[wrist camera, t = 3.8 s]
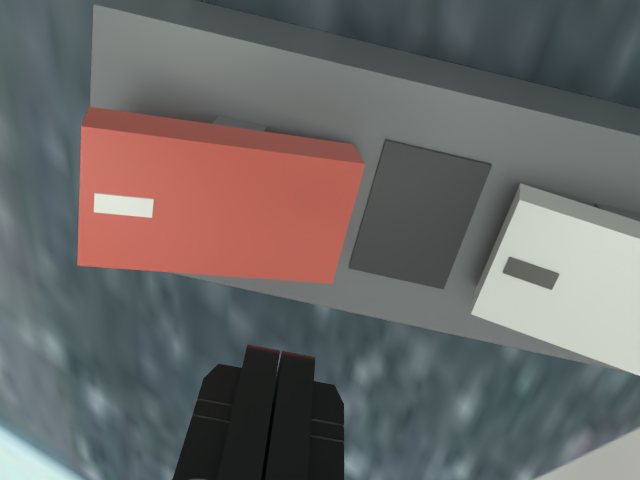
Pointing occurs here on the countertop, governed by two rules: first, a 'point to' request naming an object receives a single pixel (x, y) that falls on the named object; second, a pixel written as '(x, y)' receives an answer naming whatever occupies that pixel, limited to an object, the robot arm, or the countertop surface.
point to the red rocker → (212, 198)
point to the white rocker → (566, 277)
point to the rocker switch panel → (378, 147)
